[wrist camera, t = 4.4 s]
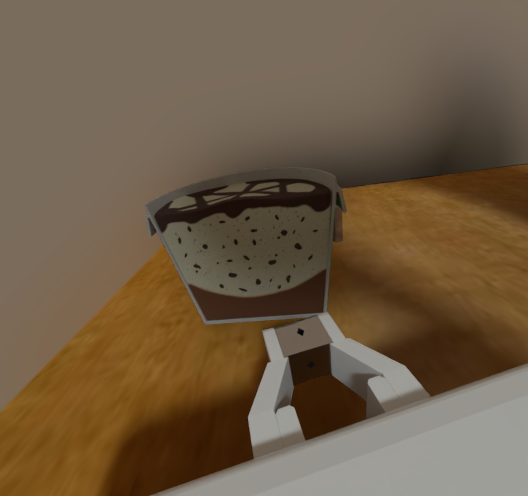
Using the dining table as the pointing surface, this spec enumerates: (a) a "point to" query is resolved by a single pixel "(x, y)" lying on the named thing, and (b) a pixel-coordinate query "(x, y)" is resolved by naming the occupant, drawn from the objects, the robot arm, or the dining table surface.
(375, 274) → the dining table surface
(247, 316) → the food container
